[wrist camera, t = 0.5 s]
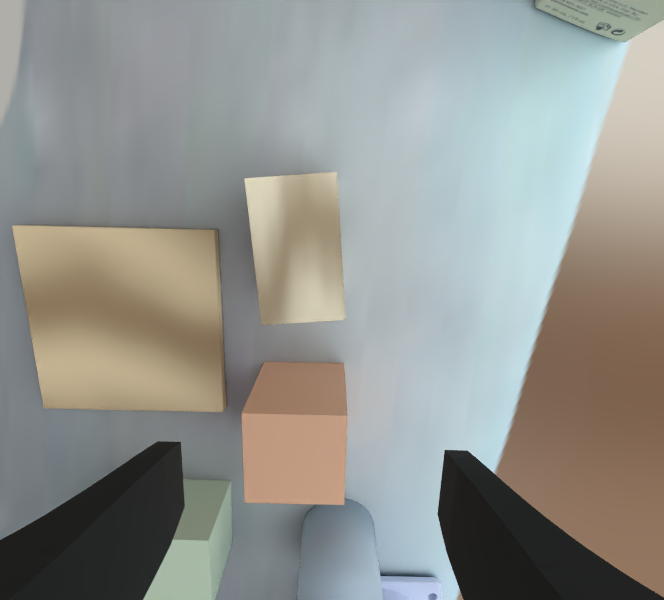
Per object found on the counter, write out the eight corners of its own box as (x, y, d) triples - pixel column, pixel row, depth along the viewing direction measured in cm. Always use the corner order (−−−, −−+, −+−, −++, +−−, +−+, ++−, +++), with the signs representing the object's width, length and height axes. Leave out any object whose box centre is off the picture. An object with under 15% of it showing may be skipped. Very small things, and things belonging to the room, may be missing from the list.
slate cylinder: (372, 557, 22) (380, 631, 18) (303, 555, 22) (296, 629, 18) (375, 498, 21) (385, 563, 17) (303, 496, 21) (296, 562, 17)
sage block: (233, 538, 22) (212, 609, 18) (128, 535, 22) (84, 606, 18) (231, 478, 21) (208, 540, 17) (122, 475, 21) (74, 536, 17)
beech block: (280, 293, 18) (342, 289, 18) (261, 325, 14) (345, 320, 14) (269, 185, 17) (335, 181, 17) (244, 178, 12) (336, 172, 12)
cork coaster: (226, 406, 20) (223, 412, 19) (52, 402, 20) (43, 408, 19) (218, 229, 18) (214, 230, 17) (22, 225, 18) (11, 225, 17)
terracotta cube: (341, 433, 20) (344, 505, 15) (266, 431, 20) (244, 502, 15) (344, 363, 19) (347, 415, 14) (264, 361, 19) (241, 413, 14)
